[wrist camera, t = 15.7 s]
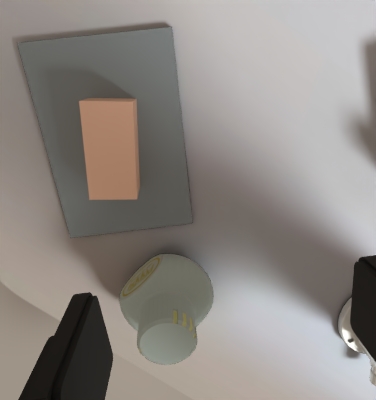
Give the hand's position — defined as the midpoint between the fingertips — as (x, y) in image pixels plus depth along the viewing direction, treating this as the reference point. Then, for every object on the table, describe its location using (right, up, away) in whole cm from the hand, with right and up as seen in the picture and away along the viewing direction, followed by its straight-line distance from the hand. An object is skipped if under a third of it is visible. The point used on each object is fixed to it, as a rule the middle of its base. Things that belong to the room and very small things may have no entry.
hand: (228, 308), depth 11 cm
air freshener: (-4, -6, +28) cm, 29 cm away
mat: (-9, +10, +21) cm, 25 cm away
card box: (-9, +10, +21) cm, 24 cm away
